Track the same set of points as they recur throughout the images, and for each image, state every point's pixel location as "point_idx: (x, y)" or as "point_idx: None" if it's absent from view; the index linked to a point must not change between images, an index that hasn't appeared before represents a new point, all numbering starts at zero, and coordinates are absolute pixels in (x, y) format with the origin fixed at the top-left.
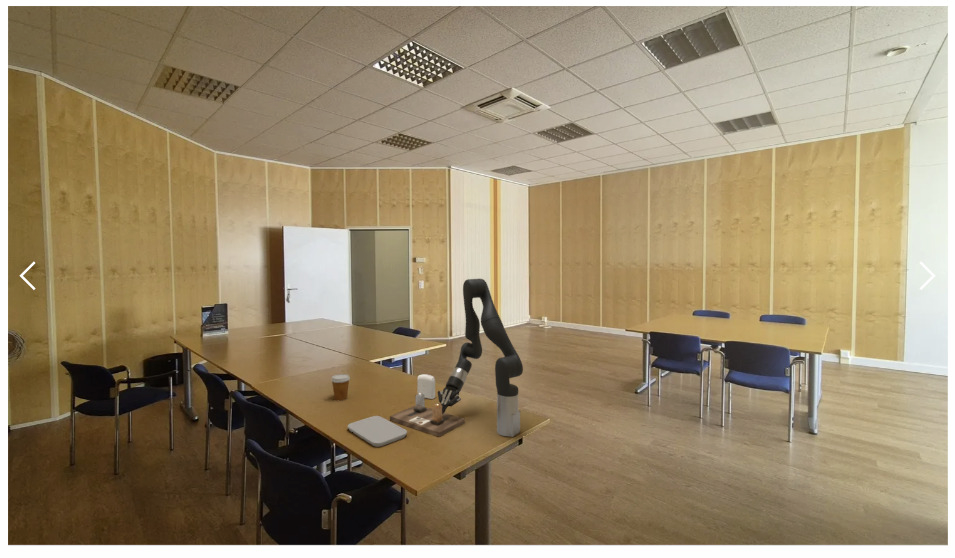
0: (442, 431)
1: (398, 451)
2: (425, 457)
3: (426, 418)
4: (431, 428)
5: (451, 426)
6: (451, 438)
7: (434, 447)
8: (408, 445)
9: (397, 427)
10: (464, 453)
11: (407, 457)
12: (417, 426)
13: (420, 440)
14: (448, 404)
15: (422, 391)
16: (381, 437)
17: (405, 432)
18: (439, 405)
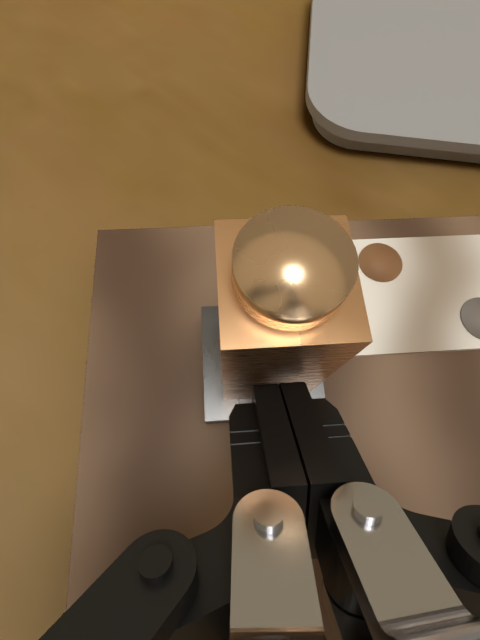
0: (96, 272)
1: (198, 22)
2: (22, 48)
3: (437, 379)
4: (213, 246)
5: (85, 410)
6: (8, 294)
7: (46, 138)
8: (206, 79)
9: (439, 125)
10: None
11: (111, 10)
12: (354, 225)
13: (194, 151)
14: (165, 542)
15: None
16: (373, 6)
17: (324, 107)
18: (230, 271)
